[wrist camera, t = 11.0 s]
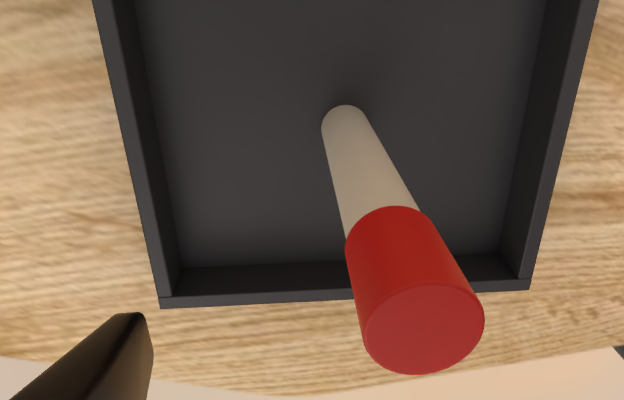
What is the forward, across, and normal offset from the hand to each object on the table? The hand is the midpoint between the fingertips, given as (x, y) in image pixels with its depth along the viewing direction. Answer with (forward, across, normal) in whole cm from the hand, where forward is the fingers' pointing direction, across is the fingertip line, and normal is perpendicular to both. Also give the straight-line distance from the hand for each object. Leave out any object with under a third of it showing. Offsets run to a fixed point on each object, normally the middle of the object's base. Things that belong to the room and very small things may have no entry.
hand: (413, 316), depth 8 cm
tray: (+11, 0, 0) cm, 11 cm away
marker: (+11, 0, 0) cm, 11 cm away
